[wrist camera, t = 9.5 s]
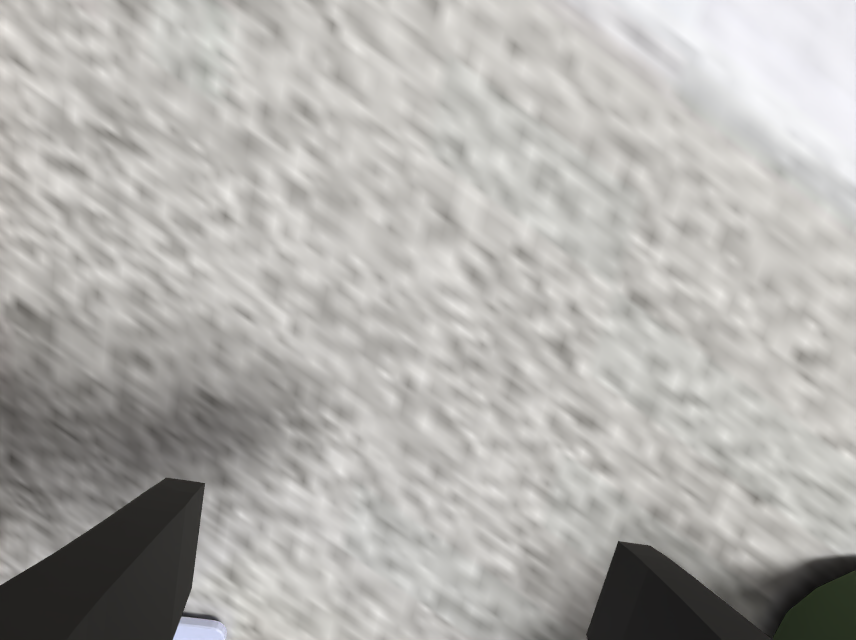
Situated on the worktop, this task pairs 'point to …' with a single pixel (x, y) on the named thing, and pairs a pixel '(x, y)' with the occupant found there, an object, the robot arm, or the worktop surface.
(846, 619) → the character mug
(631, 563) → the robot arm
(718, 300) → the worktop surface
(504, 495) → the worktop surface
